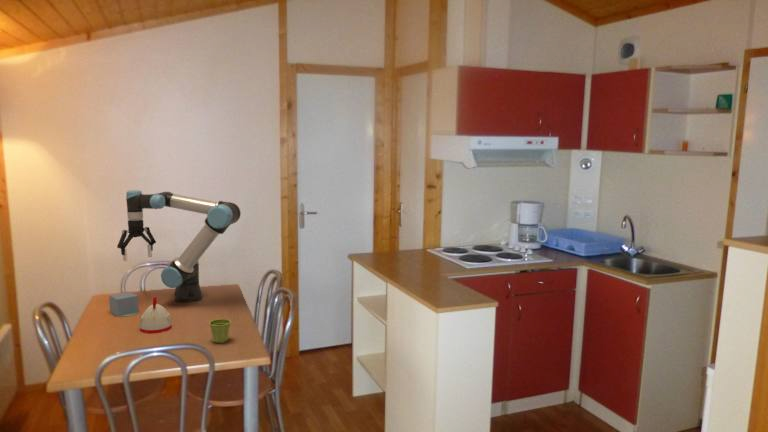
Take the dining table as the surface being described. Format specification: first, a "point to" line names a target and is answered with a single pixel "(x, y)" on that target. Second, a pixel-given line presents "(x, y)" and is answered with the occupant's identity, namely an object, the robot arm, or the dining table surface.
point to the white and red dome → (155, 319)
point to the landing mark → (127, 314)
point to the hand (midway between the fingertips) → (137, 258)
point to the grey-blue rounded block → (123, 303)
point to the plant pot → (220, 329)
